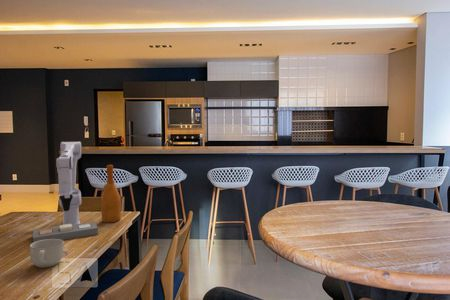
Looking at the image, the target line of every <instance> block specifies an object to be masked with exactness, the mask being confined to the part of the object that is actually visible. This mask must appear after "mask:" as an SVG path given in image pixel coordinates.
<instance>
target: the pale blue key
mask: <svg viewBox="0 0 450 300" xmlns="http://www.w3.org/2000/svg"><path fill="white" fill-rule="evenodd" d="M87 227H91V226H90V224H85V225H79V226H78V228H79V229H81V228H87Z"/></svg>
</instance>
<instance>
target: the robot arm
mask: <svg viewBox="0 0 450 300" xmlns="http://www.w3.org/2000/svg"><path fill="white" fill-rule="evenodd" d="M59 148H60V155H59V157H58V158H56V163H55V165H56V168H57V169H56V170H57V174H58V175H57V177H58V195H59V198H58V199H59V201H58V202H59V203H58V204H59V206H60V207H61V208H62V213H63V214H62V215H63V220H62V221H61V222H62V223H61V224H62V225H65V224H71V225H73V224H80V223H81V221H80V211H79V209H80V208H79V206H81V205H82V192H81V190H80V189H79V188H77V187H76V182H77V181H76V180H77V163H78V160H80V159H81V158H82V142H81V141H61V142H60V147H59Z"/></svg>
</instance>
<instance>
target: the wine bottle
mask: <svg viewBox="0 0 450 300" xmlns="http://www.w3.org/2000/svg"><path fill="white" fill-rule="evenodd" d="M106 174H107V180H106V183H104V185H103V187H102V188H103V189H102V190H103V192H102V195H101V200H100V203H101V204H100V207H101V208H100V209H101V210H100V211H101V220H102V222H103V223H116V222H119V221H121V219H122V218H121V217H122V204H121V203H122V202H121V195H120V192H119V191H118V188H117V187H116V184H115V181H114V165H113V164H106Z"/></svg>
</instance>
